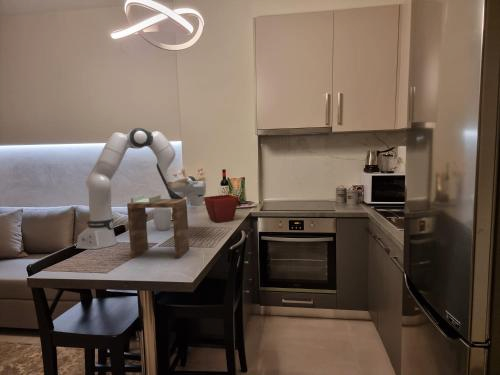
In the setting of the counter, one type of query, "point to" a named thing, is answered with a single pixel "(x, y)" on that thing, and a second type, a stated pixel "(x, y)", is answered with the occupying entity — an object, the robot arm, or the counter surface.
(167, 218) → the mug
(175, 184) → the batten
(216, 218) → the plant pot
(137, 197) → the sage channel
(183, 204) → the walnut shelf
